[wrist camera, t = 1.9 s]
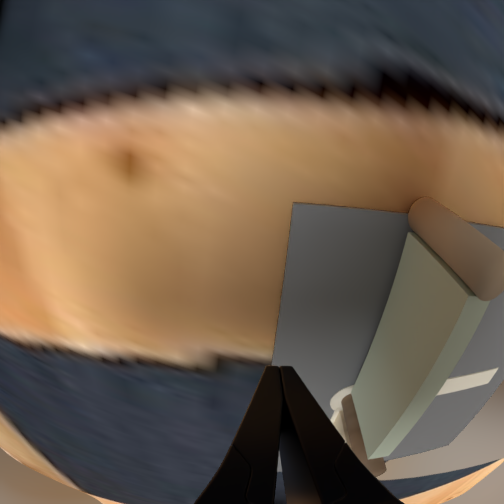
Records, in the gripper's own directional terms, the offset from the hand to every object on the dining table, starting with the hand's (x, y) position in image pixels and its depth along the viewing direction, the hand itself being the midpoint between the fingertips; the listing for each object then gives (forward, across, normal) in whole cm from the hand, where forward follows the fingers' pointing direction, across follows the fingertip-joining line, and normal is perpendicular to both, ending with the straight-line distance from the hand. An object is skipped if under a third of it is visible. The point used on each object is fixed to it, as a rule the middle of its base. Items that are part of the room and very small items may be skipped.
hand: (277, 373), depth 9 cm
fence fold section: (+4, -6, +1) cm, 7 cm away
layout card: (+5, -11, +8) cm, 14 cm away
